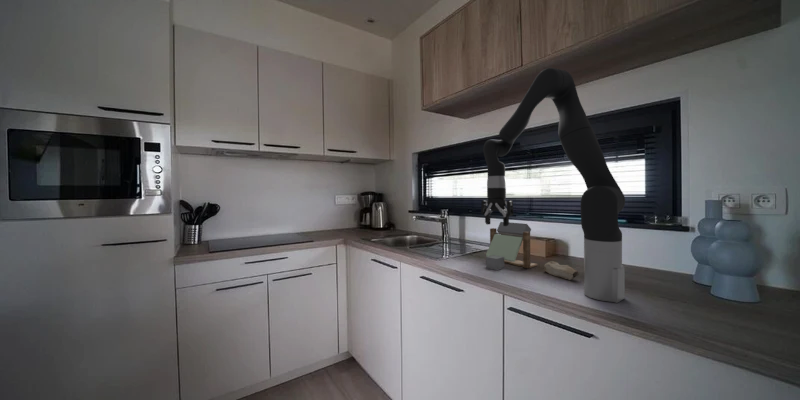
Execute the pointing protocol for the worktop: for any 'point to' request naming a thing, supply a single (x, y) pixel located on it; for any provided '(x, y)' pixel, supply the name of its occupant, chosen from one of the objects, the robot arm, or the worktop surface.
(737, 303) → the worktop surface
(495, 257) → the grey block
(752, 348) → the worktop surface
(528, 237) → the frame
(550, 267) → the bone fragment
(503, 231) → the trapdoor
